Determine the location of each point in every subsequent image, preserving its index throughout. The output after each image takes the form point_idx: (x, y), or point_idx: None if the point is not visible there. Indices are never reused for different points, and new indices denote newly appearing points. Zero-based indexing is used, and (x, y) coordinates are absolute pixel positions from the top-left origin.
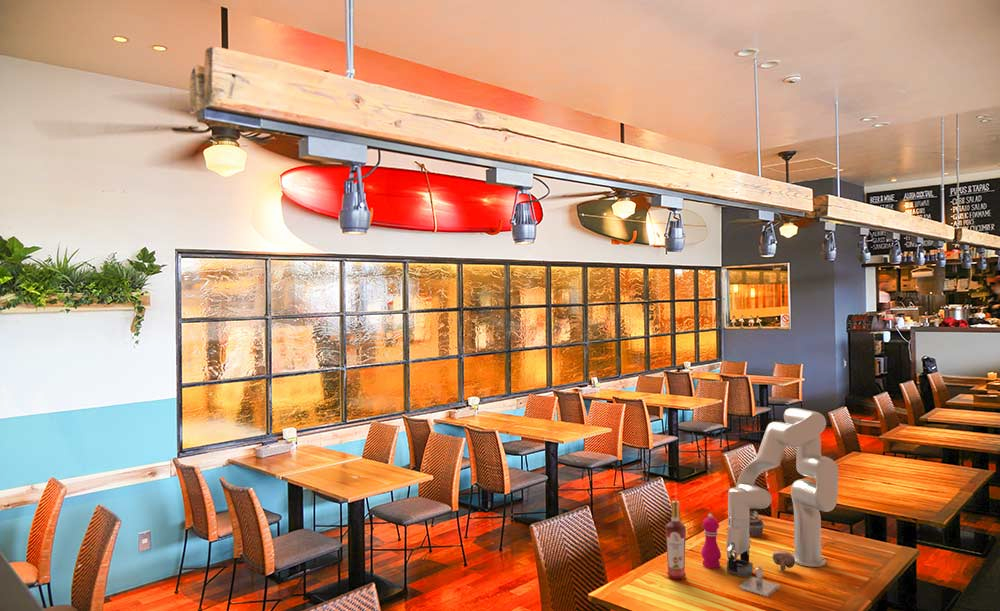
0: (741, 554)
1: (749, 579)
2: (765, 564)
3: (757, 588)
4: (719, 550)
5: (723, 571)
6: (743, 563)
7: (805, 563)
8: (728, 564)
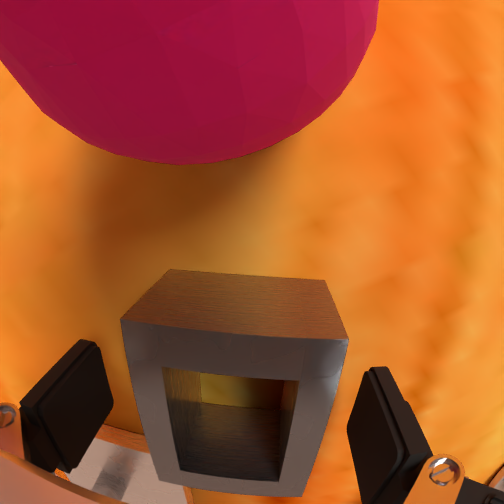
0: (390, 449)
1: (125, 451)
2: (491, 402)
3: (76, 471)
4: (198, 117)
5: (165, 233)
6: (284, 437)
7: (495, 487)
8: (53, 366)
